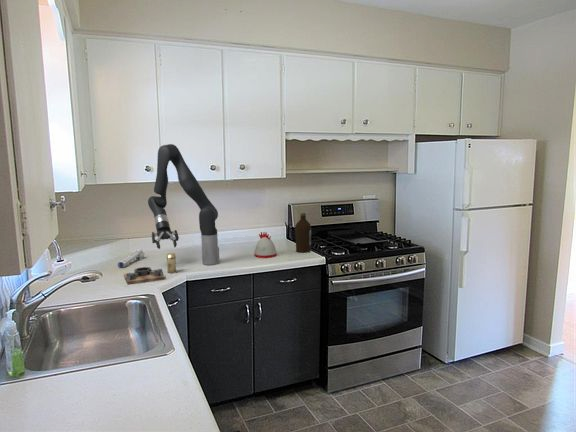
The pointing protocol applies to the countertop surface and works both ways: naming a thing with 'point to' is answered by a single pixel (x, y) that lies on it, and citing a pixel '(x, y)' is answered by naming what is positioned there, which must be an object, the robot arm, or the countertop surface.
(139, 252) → the white capped tube
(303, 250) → the olive oil
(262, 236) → the grey pompom beanie hat
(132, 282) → the walnut shaft board
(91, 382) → the countertop surface
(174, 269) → the cylinder
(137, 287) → the countertop surface
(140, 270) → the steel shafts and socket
